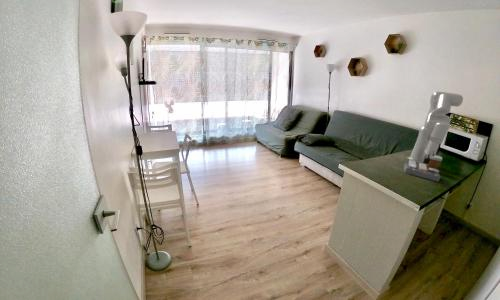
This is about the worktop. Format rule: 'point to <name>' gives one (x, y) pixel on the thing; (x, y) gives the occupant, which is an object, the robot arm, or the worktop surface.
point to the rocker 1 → (412, 164)
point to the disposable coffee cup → (434, 162)
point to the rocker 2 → (422, 167)
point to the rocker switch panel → (422, 173)
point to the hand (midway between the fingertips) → (425, 163)
